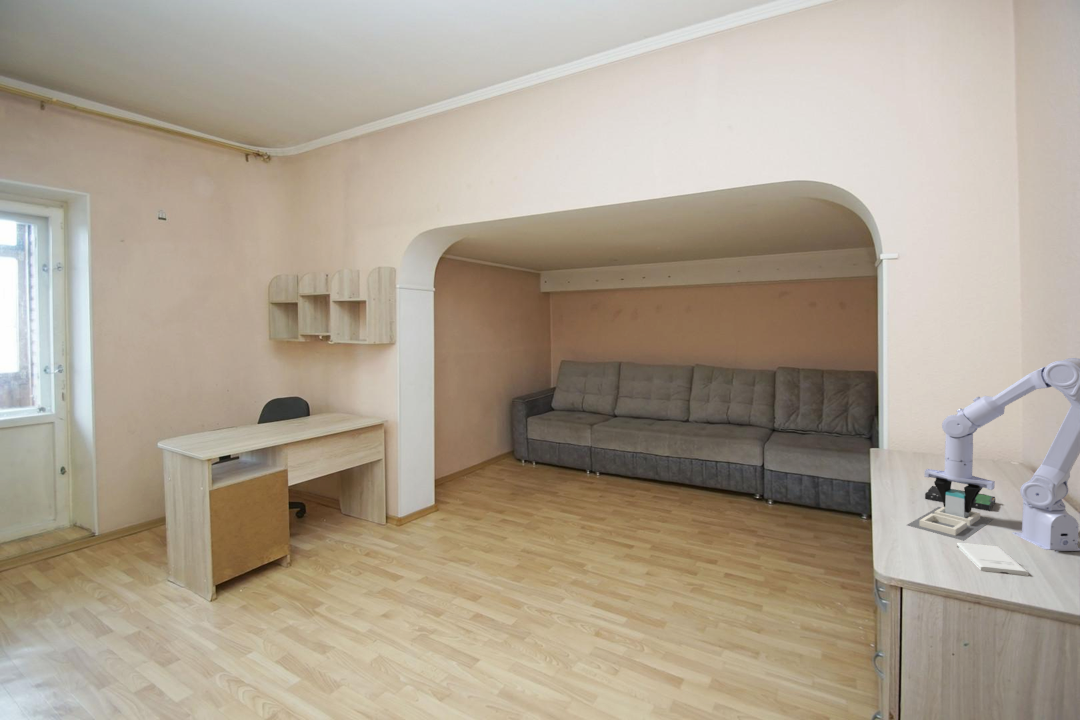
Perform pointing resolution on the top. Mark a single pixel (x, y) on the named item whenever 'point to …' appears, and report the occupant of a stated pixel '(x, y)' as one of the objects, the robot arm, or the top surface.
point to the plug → (955, 503)
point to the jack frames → (948, 521)
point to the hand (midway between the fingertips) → (957, 509)
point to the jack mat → (962, 534)
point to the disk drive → (980, 501)
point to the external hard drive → (991, 559)
